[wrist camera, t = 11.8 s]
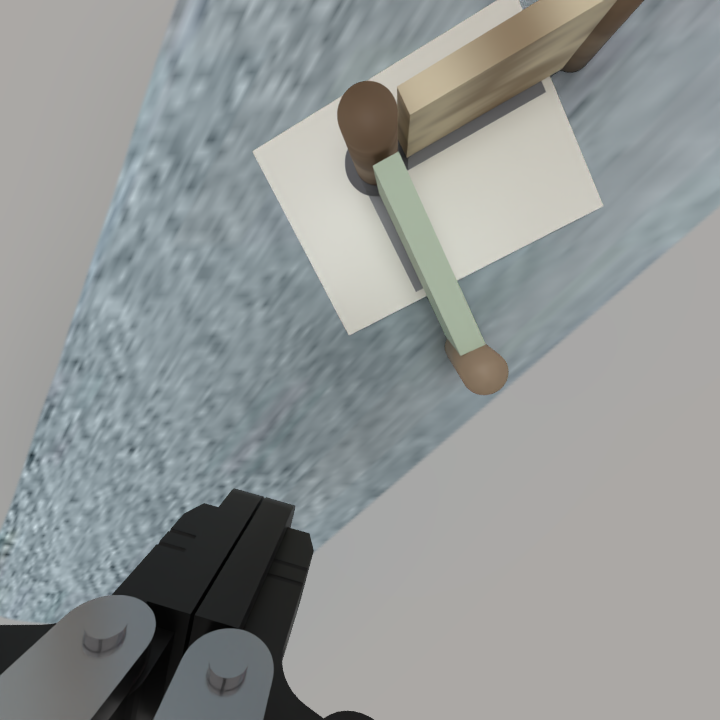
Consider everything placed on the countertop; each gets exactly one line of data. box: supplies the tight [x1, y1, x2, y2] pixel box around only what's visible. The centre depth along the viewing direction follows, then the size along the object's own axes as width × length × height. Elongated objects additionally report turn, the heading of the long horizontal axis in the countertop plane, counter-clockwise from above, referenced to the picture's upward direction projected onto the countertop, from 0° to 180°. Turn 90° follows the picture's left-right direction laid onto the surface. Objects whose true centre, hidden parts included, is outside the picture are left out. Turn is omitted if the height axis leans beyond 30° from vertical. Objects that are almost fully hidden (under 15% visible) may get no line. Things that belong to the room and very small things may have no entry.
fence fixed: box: [337, 0, 644, 185], centre depth 20 cm, size 14×2×8 cm, turn 117°
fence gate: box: [373, 152, 508, 395], centre depth 21 cm, size 11×2×7 cm, turn 26°
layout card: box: [252, 0, 603, 335], centre depth 24 cm, size 16×12×1 cm
